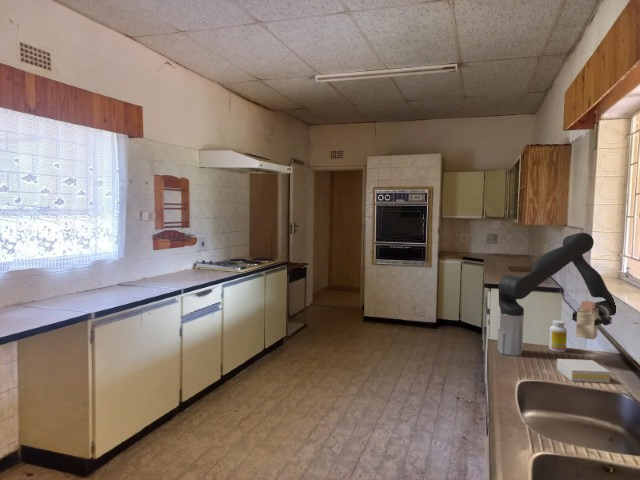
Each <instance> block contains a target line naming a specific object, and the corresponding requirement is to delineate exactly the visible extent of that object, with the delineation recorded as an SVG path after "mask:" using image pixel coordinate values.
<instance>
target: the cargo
mask: <svg viewBox="0 0 640 480" xmlns="http://www.w3.org/2000/svg"><path fill="white" fill-rule="evenodd" d="M580 303H581V304H580V307H581V309H587V310H593V311H594V310H595V303H596V302H595V301H594V302H593V301H589V300H583V301H581V302H580Z"/></svg>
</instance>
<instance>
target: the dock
mask: <svg viewBox="0 0 640 480" xmlns="http://www.w3.org/2000/svg"><path fill="white" fill-rule="evenodd" d="M556 370H558V372H560V373H561V374H562V375H563V376H565V377H566V378H567V379H569V380H570V381H571V382H584V383H585V382H586V383H604V384H605V383H610V382H611V381H610V380H611V371H610V370H608V369H607V368H605V367H604V366H602V365H600V364H599V363H598V362H596V361H594V360H592V359H571V358H570V359H569V358H568V359H566V358H557V359H556Z"/></svg>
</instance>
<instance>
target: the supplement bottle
mask: <svg viewBox="0 0 640 480" xmlns="http://www.w3.org/2000/svg"><path fill="white" fill-rule="evenodd" d="M567 332H568V330H567V328H566V327H565V321H563V320H557V319H554V320H552V325H551V326H550V327H549V338H548V339H549V341H548V349H549V350H550V351H552V352H557V353H564V352H566V351H567V335H568V333H567Z"/></svg>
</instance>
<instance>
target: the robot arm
mask: <svg viewBox="0 0 640 480" xmlns="http://www.w3.org/2000/svg"><path fill="white" fill-rule="evenodd" d="M594 242H595V240H594V238H593V236H592V235H591V234H589V233H587V232H578V233H574V234H570V235H567V236H565V237H564V238H563V240H562V246H560V247H557V248H554V249H552V250H551V251H547V252H546V253H544V254H543V255H542V256H541V255H540V257H538V258H537V259H536V260H535V261H534V262H533V264H532V268H531V271H530V272H529V273H528V274H526V275H524V276H521V277H517V276H512V275H504V276H503V277H502V278H501V279H500V280H499V284H498V305H499V309H500V314H499V316H500V317H499V328H498V330H497V351H498V352H499V353H500V354H501V355H505V356H512V357H514V356H515V357H516V356H517V357H519V356H521V355H523V347H524V346H523V344H524V341H523V340H524V339H523V338H524V319H525V318H524V316H525V313H524V312H525V309H524V307H523V306H522V305H520V303H518V301H517V300H523V299H525V298H526V297H528V296H529V295H530V294H531V293H532V292H533V291H535V289H536V288H538V287H539V286H540V285H542V283H544V282H546V280H548V279H549V278H551V277H552V276H554V275H555V274H557V273H558V272H559V271H561V270H562V269H563V268H565V267H566V266H567V265H569V264H570V263H571V262H572V263H573V265H574V267H575V268H576V269H577V271H578V273H580V276H581V277H582V279H583V281H584V284H585V285H586V288H587V290H588V292H589V294H590V296H591V297H592V298H600V299H601V298H603V299H604V300H600V301H596V302H595V308H599V312H598V319H596V320H595V321H594V326H597V325H598V326H601V325H603V326H608V325H611V324H612V323H613V316H616V315H615V313H616V305H615V302H614V299H613V297H614V296H613V295H612V293H611V292H610V291H609V289H608V288H607V286H606V283H605V281H604V279H603V277H602V275H601V274H600V273H599V272H598V270H596V269H595V268H594V267H592V265H590V263H588V261H587V260H585V258H584V256H583V255H584V254H586V253H588V252H590V251H591V250H592V249H593V247H594ZM612 296H613V297H612ZM571 319H572V320H573V321H574V322H575V323H576V324H577V311H573V312H572V318H571Z"/></svg>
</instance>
